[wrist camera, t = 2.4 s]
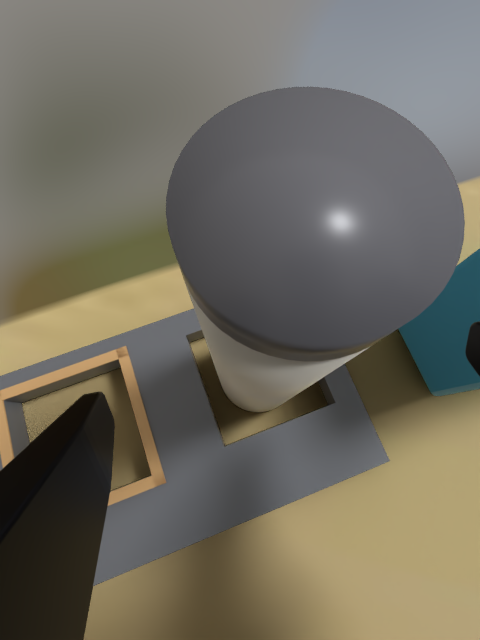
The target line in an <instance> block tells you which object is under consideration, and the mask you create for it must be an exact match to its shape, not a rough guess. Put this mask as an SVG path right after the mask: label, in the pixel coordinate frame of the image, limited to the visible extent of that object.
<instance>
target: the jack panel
mask: <svg viewBox="0 0 480 640" xmlns="http://www.w3.org/2000/svg"><path fill="white" fill-rule="evenodd" d="M203 337H204V335H203V332H202V329H201V326H200V323H199V321H198V318H197V315H196V312H195V309H191V310H188V311H185V312H182V313H180V314H177V315H174V316H171V317H168V318H165V319H162V320H160V321H157V322H154V323H151V324H148V325H145V326H142V327H140V328H137V329H134V330H131V331H128V332H125V333H122V334H120V335H117V336H114V337H111V338H108V339H105V340H102V341H100V342H97V343H94V344H91V345H88V346H85V347H82V348H80V349H77V350H74V351H71V352H68V353H65V354H62V355H60V356H57V357H54V358H51V359H48V360H45V361H42V362H39V363H37V364H34V365H31V366H28V367H25V368H22V369H19V370H17V371H14V372H11V373H8V374H5V375H2V376H0V471H1V470H2V469H3V468H4V467H5V466H6V465H7V464H8V463H9V462H10V461H12V460H13V459H14V458H15V457H16V456H17V455H18V454H19V453H20V452H21V451H22V450H24V449H25V448H26V447H27V446H28V445H29V444H30V443H29V438H28V433H27V428H26V423H25V418H24V413H23V408H22V403H23V402H26V401H28V400H31V399H34V398H37V397H39V396H42V395H45V394H48V393H51V392H53V391H56V390H59V389H62V388H64V387H67V386H70V385H73V384H76V383H78V382H81V381H84V380H87V379H90V378H92V377H95V376H98V375H101V374H103V373H106V372H109V371H112V370H115V369H117V368H120V367H121V369H122V373H123V376H124V380H125V383H126V387H127V390H128V394H129V397H130V401H131V404H132V408H133V411H134V415H135V418H136V422H137V425H138V429H139V432H140V436H141V439H142V443H143V446H144V450H145V453H146V457H147V460H148V464H149V468H150V471H151V475H150V476H148V477H145V478H143V479H140V480H138V481H135V482H133V483H130V484H127V485H125V486H122V487H120V488H117V489H115V490H112V491H110V495H109V501H108V507H107V512H106V518H105V523H104V529H103V534H102V540H101V545H100V551H99V556H98V562H97V567H96V573H95V578H94V584H93V586H95V585H97V584H99V583H102V582H104V581H106V580H109V579H111V578H113V577H116V576H118V575H121V574H123V573H125V572H128V571H130V570H132V569H135V568H137V567H140V566H142V565H144V564H147V563H149V562H151V561H154V560H156V559H159V558H161V557H163V556H166V555H168V554H170V553H173V552H175V551H177V550H180V549H182V548H185V547H187V546H189V545H192V544H194V543H196V542H199V541H201V540H204V539H206V538H208V537H211V536H213V535H215V534H218V533H220V532H223V531H225V530H227V529H230V528H232V527H234V526H237V525H239V524H241V523H244V522H246V521H249V520H251V519H253V518H256V517H258V516H260V515H263V514H265V513H268V512H270V511H272V510H275V509H277V508H279V507H282V506H284V505H287V504H289V503H291V502H294V501H296V500H298V499H301V498H303V497H305V496H308V495H310V494H313V493H315V492H317V491H320V490H322V489H324V488H327V487H329V486H332V485H334V484H336V483H339V482H341V481H343V480H346V479H348V478H351V477H353V476H355V475H358V474H360V473H362V472H365V471H367V470H369V469H372V468H374V467H377V466H379V465H381V464H384V463H386V462H388V461H389V458H388V456H387V454H386V452H385V450H384V448H383V445H382V443H381V441H380V439H379V437H378V435H377V432H376V430H375V428H374V426H373V424H372V422H371V419H370V417H369V415H368V413H367V411H366V409H365V406H364V404H363V402H362V400H361V398H360V396H359V394H358V391H357V389H356V387H355V385H354V383H353V381H352V378H351V376H350V374H349V372H348V370H347V368H346V365H345V364H343V365H342V366H340V367H338V368H337V369H335V370H334V371H332V372H331V373H329V374H328V375H326V376H325V377H323V378H322V379H320V380H318V383H319V385H320V387H321V390H322V392H323V394H324V396H325V399H326V401H327V403H328V405H327V406H325V407H322V408H320V409H317V410H314V411H312V412H309V413H307V414H304V415H302V416H299V417H297V418H294V419H292V420H289V421H287V422H284V423H282V424H279V425H277V426H274V427H271V428H269V429H266V430H264V431H261V432H259V433H256V434H254V435H251V436H249V437H246V438H244V439H241V440H239V441H236V442H234V443H231V444H229V445H226V446H225V444H224V441H223V438H222V435H221V432H220V429H219V427H218V424H217V421H216V418H215V415H214V412H213V409H212V406H211V403H210V401H209V398H208V395H207V392H206V389H205V386H204V383H203V380H202V377H201V374H200V372H199V369H198V366H197V363H196V360H195V357H194V354H193V351H192V348H191V345H190V342H192V341H195V340H198V339H201V338H203Z"/></svg>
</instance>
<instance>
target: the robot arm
mask: <svg viewBox="0 0 480 640" xmlns="http://www.w3.org/2000/svg"><path fill="white" fill-rule="evenodd" d="M465 354H466V357H467V360H468V361H469V363H470V364H471V366H472V367H473V368H474V370H475V371H476V373H477V374H478V375H479V377H480V321H478V322H474V323H473V324H472V325H471V326H470V329H469V334H468V339H467V344H466V349H465ZM114 429H115V426H114V419H113V416H112V413H111V411H110V408H109V406H108V403H107V400H106V398H105V396H104V394H103V393H102V392H94V393H89V394H84V395H83V396H81V397H80V398H79V399H78V400H77V401H76V402H75V403H74V404H73V405H71V406H70V407H69V408H68V409H67V410H66V411H65V412H64V413H63V414H62V415H61V416H59V417H58V418H57V419H56V420H55V421H54V422H53V423H52V424H51V425H50V426H49V427H47V428H46V429H45V430H44V431H43V432H42V433H41V434H40V435H39V436H38V437H37V438H35V439H34V440H33V441H32V442H31V443H30V444H29V445H28V446H27V447H26V448H25V449H24V450H22V451H21V452H20V453H19V454H18V455H17V456H16V457H15V458H14V459H13V460H12V461H10V462H9V463H8V464H7V465H6V466H5V467H4V468H3V469H2V470H1V471H0V640H83V639H84V633H85V628H86V622H87V617H88V611H89V606H90V600H91V595H92V589H93V584H94V578H95V573H96V567H97V562H98V556H99V551H100V545H101V540H102V534H103V529H104V523H105V518H106V512H107V507H108V501H109V495H110V489H111V477H112V461H113V445H114Z"/></svg>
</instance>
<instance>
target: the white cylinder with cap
mask: <svg viewBox="0 0 480 640" xmlns="http://www.w3.org/2000/svg"><path fill="white" fill-rule="evenodd" d="M166 217H167V225H168V232H169V235H170V239H171V243H172V246H173V249H174V252H175V255H176V258H177V261H178V264H179V267H180V269H181V272H182V275H183V278H184V281H185V284H186V286H187V289H188V292H189V295H190V298H191V301H192V303H193V306H194V309H195V312H196V315H197V318H198V321H199V323H200V326H201V329H202V332H203V335H204V338H205V340H206V343H207V346H208V349H209V352H210V355H211V357H212V360H213V363H214V366H215V369H216V372H217V375H218V377H219V380H220V383H221V386H222V388H223V391H224V392H225V394H226V396H227V397H228V398H229V400H230V401H231V402H233V403H234V404H235V405H236V406H238V407H240V408H241V409H244V410H246V411H250V412H266V411H270V410H273V409H275V408H277V407H278V406H280V405H282V404H283V403H285V402H286V401H288V400H289V399H291V398H292V397H294V396H295V395H297V394H298V393H300V392H302V391H303V390H305V389H306V388H308V387H309V386H311V385H312V384H314V383H315V382H317V381H318V380H320V379H322V378H323V377H325V376H326V375H328V374H329V373H331V372H332V371H334V370H335V369H337V368H338V367H340V366H342V365H343V364H345V363H346V362H348V361H349V360H351V359H352V358H354V357H355V356H357V355H359V354H360V353H362V352H363V351H365V350H366V349H368V348H369V347H371V346H372V345H374V344H375V343H377V342H379V341H380V340H382V339H383V338H385V337H386V336H388V335H389V334H391V333H392V332H394V331H395V330H397V329H399V328H400V327H402V326H403V325H405V324H406V323H408V322H409V321H411V320H412V319H414V318H415V317H417V316H418V315H419V314H421V313H422V312H423V311H424V310H425V309H426V308H427V307H428V306H430V305H431V304H432V303H433V302H434V300H435V299H436V298H437V297H438V296H439V294H440V293H441V292H442V291H443V290H444V288H445V286H446V285H447V283H448V281H449V280H450V278H451V276H452V275H453V273H454V270H455V268H456V265H457V263H458V260H459V258H460V254H461V249H462V245H463V240H464V225H465V222H464V210H463V203H462V199H461V195H460V191H459V188H458V185H457V183H456V180H455V178H454V175H453V173H452V171H451V169H450V168H449V166H448V164H447V162H446V160H445V159H444V157H443V156H442V154H441V153H440V152H439V150H438V149H437V148H436V147H435V145H434V144H433V143H432V142H431V141H430V140H429V139H428V138H427V136H425V134H424V133H423V132H422V131H420V130H419V129H418V128H417V127H416V126H415V125H413V124H412V123H411V122H410V121H408V120H407V119H406V118H404V117H403V116H401V115H400V114H398V113H397V112H395V111H394V110H392V109H390V108H388V107H386V106H384V105H382V104H380V103H378V102H376V101H373V100H371V99H368V98H365V97H363V96H360V95H356V94H353V93H350V92H346V91H340V90H335V89H330V88H319V87H292V88H284V89H276V90H272V91H267V92H263V93H259V94H256V95H253V96H251V97H248V98H245V99H243V100H241V101H238V102H237V103H234V104H232V105H230V106H228V107H227V108H225V109H224V110H222V111H221V112H219V113H217V114H216V115H214V116H213V117H212V118H211V119H210V120H208V121H207V122H206V123H205V124H204V125H202V126H201V128H200V129H199V130H198V131H197V132H196V133H195V134H194V135H193V136H192V138H191V139H190V140H189V142H188V143H187V144H186V146H185V147H184V149H183V150H182V152H181V154H180V156H179V158H178V160H177V161H176V163H175V166H174V168H173V171H172V175H171V177H170V180H169V186H168V192H167V197H166Z"/></svg>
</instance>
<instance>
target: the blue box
mask: <svg viewBox="0 0 480 640" xmlns="http://www.w3.org/2000/svg"><path fill="white" fill-rule="evenodd" d="M478 321H480V249H478V250H477V251H476V252H474V253H473V254H472V255H470V256H469V257H468V258H466V259H465V260H464V261H463V262H461V263H460V264H459V265H457V266H456V268H455V270H454V273H453V275H452V276H451V278H450V280H449V281H448V283H447V285H446V286H445V288H444V290H443V291H442V292H441V293H440V294H439V296H438V297H437V298H436V299H435V300H434V302H433V303H432V304H431V305H430V306H428V307H427V308H426V309H425V310H424V311H423V312H422V313H421V314H419V315H418V316H417V317H415V318H414V319H412V320H411V321H409V322H408V323H406V324H405V325H403V326H402V327H400V328H399V329H398V330H399V332H400V334H401V336H402V337H403V339H404V341H405V343H406V345H407V347H408V349H409V351H410V353H411V355H412V357H413V359H414V361H415V363H416V365H417V367H418V369H419V371H420V373H421V375H422V377H423V379H424V381H425V383H426V384H427V386H428V388H429V390H430V392H431V394H433V395H434V396H443V395H449V394H454V393H460V392H465V391H471V390H476V389H480V377H479V375H478V374H477V373H476V371H475V370H474V368H473V367H472V366H471V364H470V363H469V361H468V360H467V357H466V354H465V349H466V344H467V339H468V334H469V329H470V326H471V325H472V324H473V323H474V322H478Z"/></svg>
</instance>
